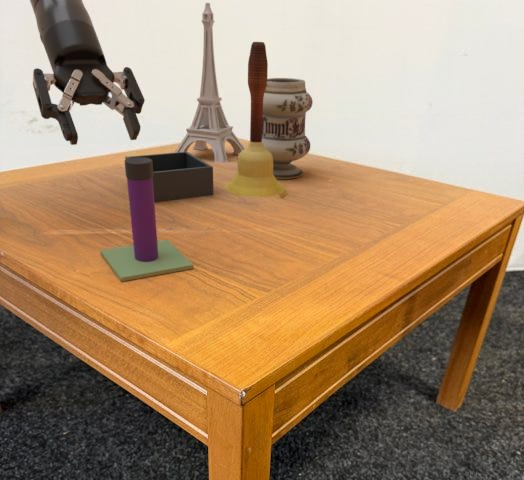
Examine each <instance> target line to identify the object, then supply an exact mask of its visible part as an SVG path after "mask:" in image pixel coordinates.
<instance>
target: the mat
mask: <svg viewBox="0 0 524 480" xmlns="http://www.w3.org/2000/svg"><path fill="white" fill-rule="evenodd" d="M157 245H158V258H157V259H156V260H154V261H149V262H142V261H138V260H136V259H135V255H134V245H133V244H130V245H123V246H118V247H112V248H105V249H100V250H99V251H100V252H99V253H100V255H101V256H102V257H103V259H104V260H105V262H106V264H107V265H108V266H109V267H110V269H111V270H112V271H113V273H114V274H115V275H116V277H117V278H118V280H119V281H120V282H121V283H122V282H127V281H133V280H138V279H144V278H149V277H150V278H151V277H155V276H160V275H167V274H171V273H176V272H182V271H187V270H193V269H194V264H193V263H192V261H190V260H189V259H188V257H186V256H185V255H184V254H183V253H182V252H181V251H180V250H179V249H178V248H177V247H176V246H175V245H174V244H173V243H172V242H171V241H170V240H169V239H162V240H157Z"/></svg>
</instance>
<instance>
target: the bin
mask: <svg viewBox="0 0 524 480" xmlns="http://www.w3.org/2000/svg"><path fill="white" fill-rule="evenodd" d="M133 157H145V158H149V159H151V160H152V166H153V190H154V203H162V202H170V201H177V200H187V199H194V198H201V197H210V196H214V166H213V165H211V164H210V163H207V162H205V161H204V160H202V159H201V158H199V157H197V156H195V155H194V154H192V153H191V152H189V151H187V152H176V153H174V152H166V153H154V154H143V155H142V154H141V155H131V156H130V155H129V156H125V157H124V160H126V159H128V158H133Z"/></svg>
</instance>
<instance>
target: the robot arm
mask: <svg viewBox="0 0 524 480" xmlns="http://www.w3.org/2000/svg"><path fill="white" fill-rule="evenodd" d="M29 2H30V5H31V8H32V12H33V14H34V17H35V21H36V25H37V30H38V33H39V39H40V41H41V43H42V44H43V48H44V50H45V53H46V56H47V58H48V61H49V64H50V67H51V70H52V72H53V73H44V71H43V69H41V68H34V69H33V71H32V86H33V90H34V93H35V98H36V101H37V104H38V108H39V109H38V110H39V113H40V116H41V117H42V118H43V119H45V120H50V119H53V120H56V121H57V122H58V125H59V128H60V131H61V133H62V137H63V138H64V140H65V141H66V142H69V144H70V145H72V146H74V145H78V141H79V135H78V131H77V128H76V126H75V123H74V120H73V117H72V113H71V111H72V110H73V107H74V106H75V104H78V105H79V106H88V105H96V106H99V105H100V106H101V105H103V104H104V105H105V106H106V107H108V108H109V109H110V110H112V111H116V112H117V113H118V114H120V115H121V116H122V117H123V118H122V121H123V123H124V126H125V128H126V132H127V134H128V138H129V140H130V141H135V140H137V139H138V136H139V134H140V131H141V128H142V127H141V124H140V121H139V118H138V116H137V115H139V114H141V113H142V110H143V106H144V104H145V101H146V99H145V97H144V95H143V93H142V90H141V88H140V86H139V84H138V82H137V79H136V76H135V74H134V72H133V70H132V69H131V68H130V67H129V66H125V67H123V69H122V71H114V72H113V70H111V68H109V66H108V64H107V60H106V56H105V54H104V51H103V48H102V45H101V43H100V40H99V37H98V35H97V32H96V29H95V26H94V24H93V21H92V19H91V16H90V14H89V12H88V10H87V8H86V6H85V5H84V2H83V0H29ZM115 83H116V84H115ZM52 85H54V87H55V88H56V89H58V90H59V91H60V92H61V93H62V96H61V98H60V100H59V101H58V104H57V103H53V102H52V99H51V95H50V92H49V91H51V86H52ZM117 85H118V86H117ZM122 90H123V91H124V93H125V94H124V93H123V91H122ZM109 94H110V95H111V97H110V96H109Z"/></svg>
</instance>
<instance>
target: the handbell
mask: <svg viewBox="0 0 524 480" xmlns="http://www.w3.org/2000/svg"><path fill="white" fill-rule="evenodd" d="M266 49H267V48H266V44H265V42H264V41H252V43H251V46H250V50H249V51H250V52H249V57H248V61H247V86H248V90H249V93H250V94H249V95H250V123H249V124H250V127H249V130H250V131H249V143H248V145H247V147H245V149H244V150H242V151H241V152H240V153H239V155H237V172H236V174H235V175H234V177H233V178H232V179H231V180H230V181H229V182H228V183H226V185H224V190H226V191H227V192H229V193H231V194H234V195H237V196H242V197H252V198H255V197H256V198H263V197H272V196H277V195H279V197H280V199H282V198H284V197H286V195H287V194H288V193H287V190H286V187H285V186H284V185H282V184H281V182H279V181H278V179H276V178H275V177H274V175H273V157H272V154H271V153H270V152H269V151H268V150H266V149H265V148H264V147H263V144H262V118H263V97H264V93H265V89H266V86H267V79H268V67H269V65H268V64H269V63H268V56H267V50H266Z"/></svg>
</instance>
